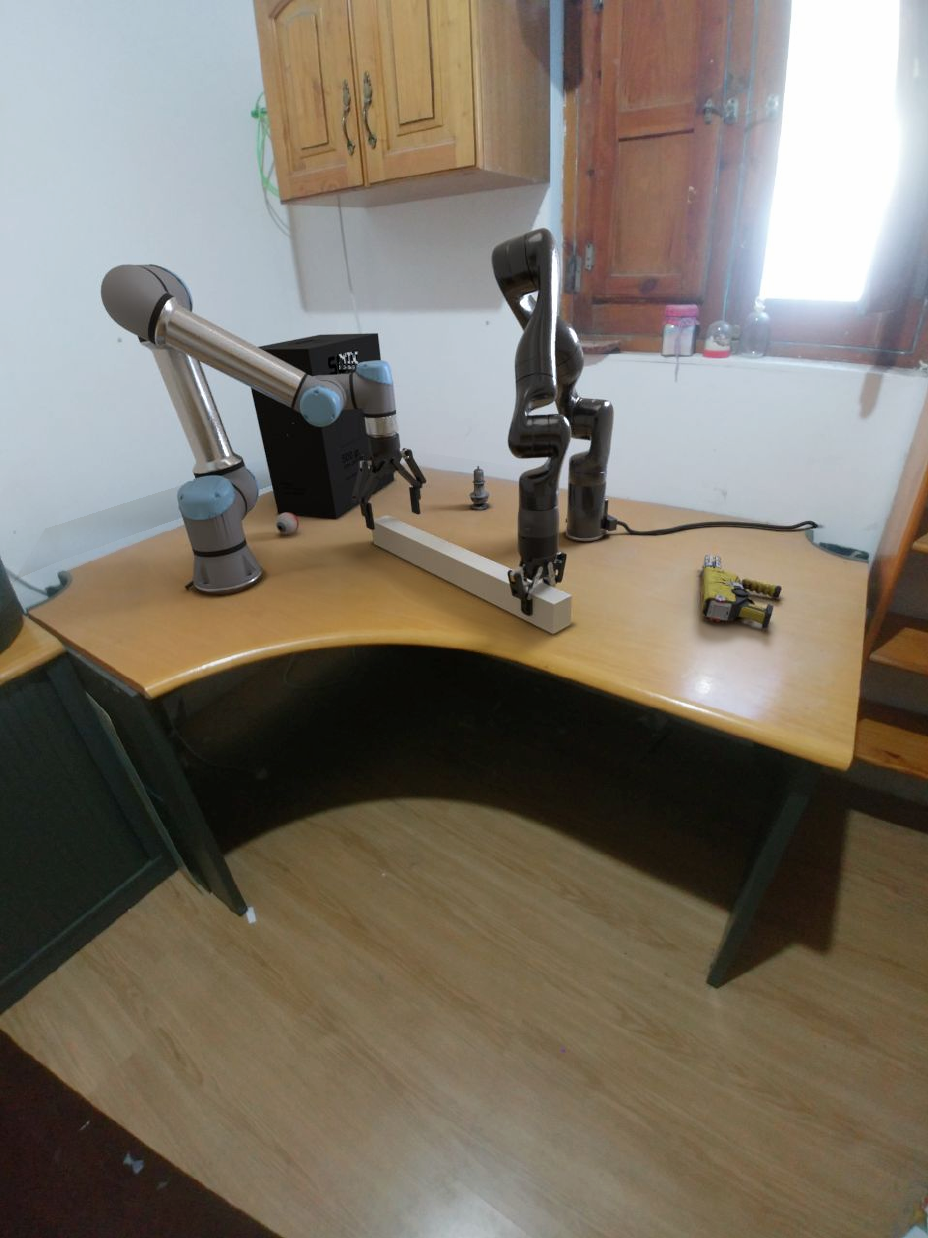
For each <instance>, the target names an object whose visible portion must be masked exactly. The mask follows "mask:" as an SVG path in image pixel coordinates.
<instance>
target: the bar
mask: <svg viewBox="0 0 928 1238" xmlns="http://www.w3.org/2000/svg"><path fill="white" fill-rule="evenodd" d="M373 519H374V525H375V529H374V530H371V532H372V539H373V545H376V546H377V547H380V548H381V549H383V550H385V551H387V552H389V553H391V554H393V555H395V556H397V557H399V558H402V559H403V560H405V561H407V562H409V563H411V564H413V565H415V566H417V567H419V568H421V569H423V570H425V571H427V572H429V573H431V574H433V575H435V576H437V577H439V578H441V579H443V580H445V581H447V582H449V583H451V584H452V585H455V586H457V587H458V588H460V589H462V590H464V591H467V592H469V593H471V594H473V595H475V596H476V597H479V598H481V599H483V600H484V601H486V602H489V603H490V604H492V605H494V606H496V607H498V608H501V609H502V610H504V611H506V612H508V613H510V614H512V615H514V616H516V617H518V618H520V619H522V620H524V621H526V622H528V623H530V624H532V625H533V626H535V627H538V628H540V629H541V630H544V631H546V632H548V633H550V634H552V635H554V634H556V633H558V632H560V631H562V630H563V629H565V628H567V627H569V626H571V625H572V604H573V595H572V594H571V593H568V592H565V591H563V590H561V589H558V588H556V587H555V588H554V587H552V586H549V585H547V584H545V583H542V581H540V580H539V581H538V585H537V588H536V589H534V592H533V595H532V599H533V613H532V615H531V616H527V615H525V614H523V613H522V612H521V600H520V599H518V598H516V597H514V596H512V593H511V588H510V584H509V579H508V575H507V573H508V571H509V570H512V571H514V570H515V569H512V568H510V567H507V566H506V565H504V564H502V563H499V562H497V561H494V560H491V559H489V558H486V557H484V556H482V555H480V554H478V553H476V552H473V551H471V550H468V549H466V548H464V547H461V546H459V545H457V544H455V543H452V542H450V541H447V540H445V539H443V538H441V537H439V536H436V535H433V534H431V533H429V532H427V531H425V530H422V529H419V528H418V527H415V526H413V525H410V524H409V523H406V522H403V521H401V520H398V519H397V518H394V517H392V516H390V515H383V516H380V517H377V518H373ZM527 581H528V582H531V583H532V581H531V580H529V579H527ZM527 591H528V587H526V591H525V592H527Z"/></svg>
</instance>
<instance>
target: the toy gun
mask: <svg viewBox="0 0 928 1238" xmlns="http://www.w3.org/2000/svg"><path fill="white" fill-rule="evenodd" d="M701 568H702V571H701V572H702V575H701V579H700V580H701V581H700V582H701V585H700V586H701V591H700V593H701V601H700V602H701V606H700V607H701V609H700V610H701V614H702V616H703V617H705V618H709V620H710V621H712V622H714V621H715V622H717V623H718V622H720V621H725V622H730V621H734V620H735V619H737V618H742V619H746V620H748V621H753V622H756V623H758V624H761V625H762V628H763V629H766V630H767V629H768V627H769V624H770V622H771V618H772V615H773V611H774V607H775V606H774V605H772V604H770V603H768V604H767V605H766V608H765V607H762V606H760V605H757V604H755V601H754V600H753V599H751V598H750V592H755V593H756V594H762V595H764V596H767V595H768V596H769V597H771V598H773V599H779V598H780V595H781V591H782V589H783V588H782V586H781V585H776V584H771V583H767V582H766V583H764V582H763V581H757V580H755V579H753V580H752V579H750V578H747V577H745V578H743V579H740V577H739V576H738V574H736V573H731V572H728V571H724V569H723V568H722V557H721V556H719V555H715V556H714V557H713V554H710V553H709V554H708V553H707V554H706V555H705V556H704V559H703V563H702V566H701ZM749 591H750V592H749Z"/></svg>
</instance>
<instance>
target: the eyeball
mask: <svg viewBox="0 0 928 1238" xmlns="http://www.w3.org/2000/svg"><path fill="white" fill-rule="evenodd" d="M299 525H300V522H299V519H298V517H297V515H294V514H292V513H288V512H285V513H282V514H280V513H279V515H278V516H277V517H276V520H275V527H276V529H277V530H278V531H279V532H280V533H281V534H282V535H285V536H286V535H287V536H289V535H293V534H295V533H296V532H297V531H298V529H299Z"/></svg>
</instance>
